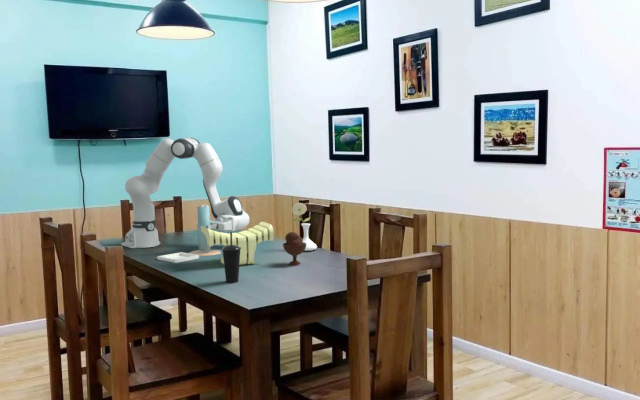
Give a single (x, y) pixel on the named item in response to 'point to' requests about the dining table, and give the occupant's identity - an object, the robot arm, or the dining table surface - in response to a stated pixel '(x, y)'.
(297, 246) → the ice cream bowl
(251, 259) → the slatted curved stool
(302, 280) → the dining table surface
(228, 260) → the drinking cup
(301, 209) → the flower in vase
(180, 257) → the tray
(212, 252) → the terracotta plate
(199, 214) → the teal cylinder
